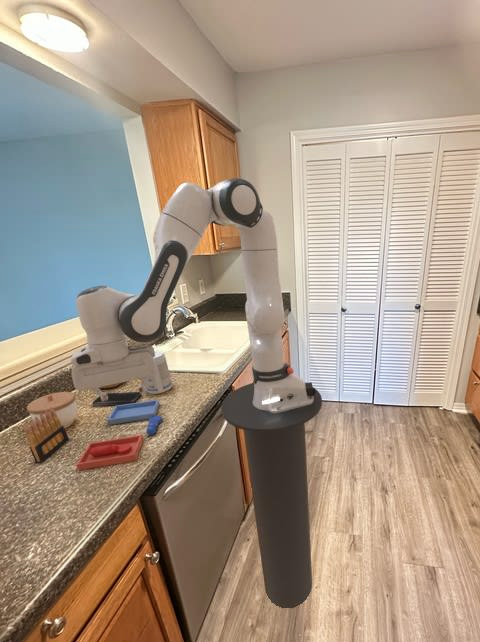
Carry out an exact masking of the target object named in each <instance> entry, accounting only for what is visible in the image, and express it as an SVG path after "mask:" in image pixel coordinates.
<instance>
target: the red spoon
mask: <svg viewBox="0 0 480 642" xmlns="http://www.w3.org/2000/svg"><path fill="white" fill-rule="evenodd" d="M131 450H132V448H131V445H130V444H123V445H121V446H118V445H117V444H111V445H104V446H98V447H94V448H92V449H91V451H90V454H91V455H92V456H102V455H108V454H114V453H116V452H117V453H118V454H119V455H124V454H127V453H129V452H130V451H131Z"/></svg>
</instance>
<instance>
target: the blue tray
mask: <svg viewBox="0 0 480 642" xmlns="http://www.w3.org/2000/svg"><path fill="white" fill-rule="evenodd" d="M160 405H161V404H160V401H159V399H153V400H147V401H146V400H145V401H139V402H135V403H132V404H124V405H114V408H113V410H112V411H111V413H110V415H109V416H108V418H107V419H106V421H107V424H108V426H113V425H117V424H119V425H120V424H125V423H131V422H139V421H144V420H150V419H151V418H152V417H155V416H157V414H158V410H159V407H160Z"/></svg>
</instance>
